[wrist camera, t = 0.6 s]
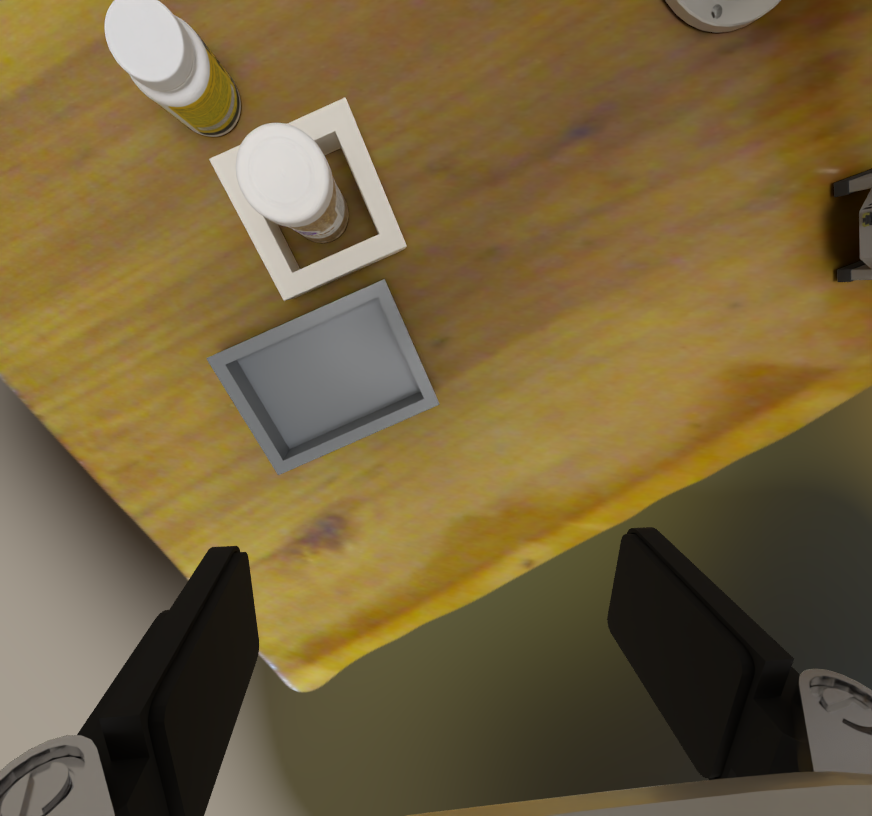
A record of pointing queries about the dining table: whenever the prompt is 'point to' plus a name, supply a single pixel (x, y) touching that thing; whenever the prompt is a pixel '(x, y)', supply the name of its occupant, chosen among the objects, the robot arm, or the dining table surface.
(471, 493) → the dining table surface
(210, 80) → the supplement bottle
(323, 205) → the sprinkles bottle
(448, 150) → the dining table surface
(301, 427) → the charcoal tray
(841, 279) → the figurine
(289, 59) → the dining table surface
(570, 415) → the dining table surface
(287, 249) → the frame
